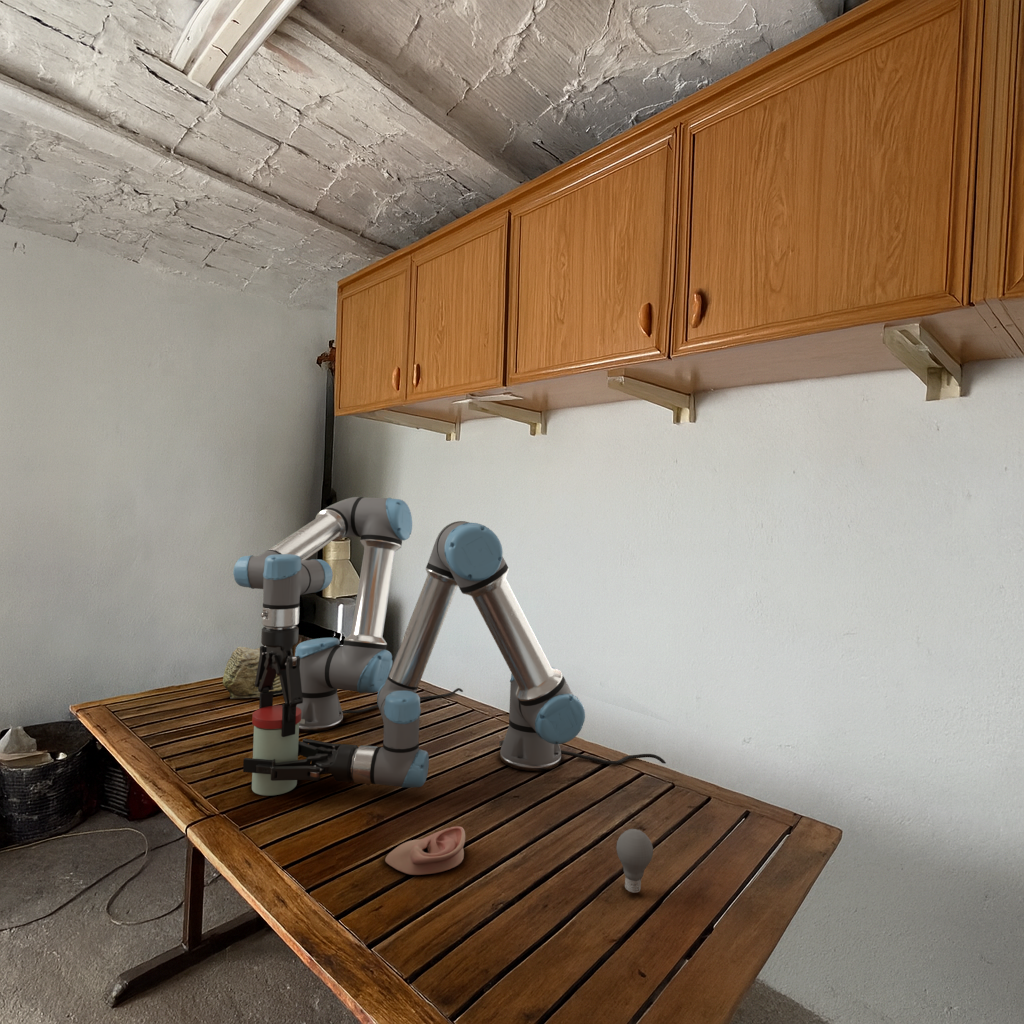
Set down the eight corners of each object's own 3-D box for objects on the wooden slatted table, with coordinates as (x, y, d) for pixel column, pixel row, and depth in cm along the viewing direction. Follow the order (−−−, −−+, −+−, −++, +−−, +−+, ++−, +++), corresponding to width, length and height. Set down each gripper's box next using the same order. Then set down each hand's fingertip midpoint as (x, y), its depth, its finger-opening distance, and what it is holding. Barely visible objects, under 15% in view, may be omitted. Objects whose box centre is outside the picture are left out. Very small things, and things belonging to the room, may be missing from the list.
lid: (246, 718, 138) (246, 710, 138) (291, 710, 145) (291, 702, 145) (260, 732, 131) (260, 723, 131) (308, 723, 137) (308, 715, 137)
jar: (303, 778, 142) (306, 709, 142) (285, 797, 133) (288, 724, 133) (264, 774, 143) (267, 706, 143) (243, 793, 134) (246, 720, 133)
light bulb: (610, 879, 108) (613, 822, 108) (644, 879, 109) (647, 822, 109) (619, 902, 102) (622, 840, 102) (655, 901, 103) (658, 840, 103)
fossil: (218, 695, 195) (220, 647, 195) (278, 685, 208) (279, 640, 207) (228, 703, 189) (230, 653, 188) (289, 692, 201) (290, 645, 201)
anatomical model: (378, 846, 108) (403, 814, 120) (377, 869, 108) (402, 835, 120) (453, 858, 106) (471, 824, 117) (452, 882, 106) (470, 846, 117)
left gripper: (240, 619, 142) (237, 717, 143) (288, 637, 127) (284, 748, 127) (273, 616, 148) (269, 710, 148) (322, 633, 132) (318, 739, 133)
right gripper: (336, 805, 125) (228, 795, 127) (371, 760, 147) (278, 752, 149) (338, 767, 125) (229, 758, 127) (372, 728, 147) (279, 721, 149)
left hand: (276, 728), depth 138 cm, fingers closed on lid, 10 cm apart
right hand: (255, 755), depth 138 cm, fingers closed on jar, 9 cm apart
